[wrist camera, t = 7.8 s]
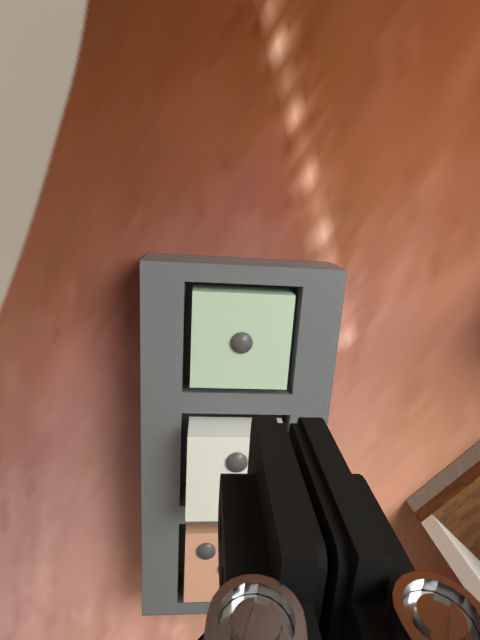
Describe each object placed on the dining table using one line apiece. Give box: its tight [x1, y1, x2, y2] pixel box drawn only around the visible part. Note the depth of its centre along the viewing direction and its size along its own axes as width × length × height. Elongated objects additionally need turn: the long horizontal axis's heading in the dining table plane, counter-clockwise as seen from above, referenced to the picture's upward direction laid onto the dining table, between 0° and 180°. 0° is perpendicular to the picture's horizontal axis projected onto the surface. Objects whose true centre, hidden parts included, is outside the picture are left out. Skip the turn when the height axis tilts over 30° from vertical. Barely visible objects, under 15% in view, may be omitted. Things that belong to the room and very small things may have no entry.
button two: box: [185, 417, 283, 522], centre depth 22 cm, size 5×5×2 cm
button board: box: [140, 253, 347, 616], centre depth 24 cm, size 22×10×3 cm, turn 177°
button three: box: [184, 524, 219, 602], centre depth 25 cm, size 5×5×2 cm
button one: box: [190, 283, 296, 390], centre depth 21 cm, size 5×5×2 cm
